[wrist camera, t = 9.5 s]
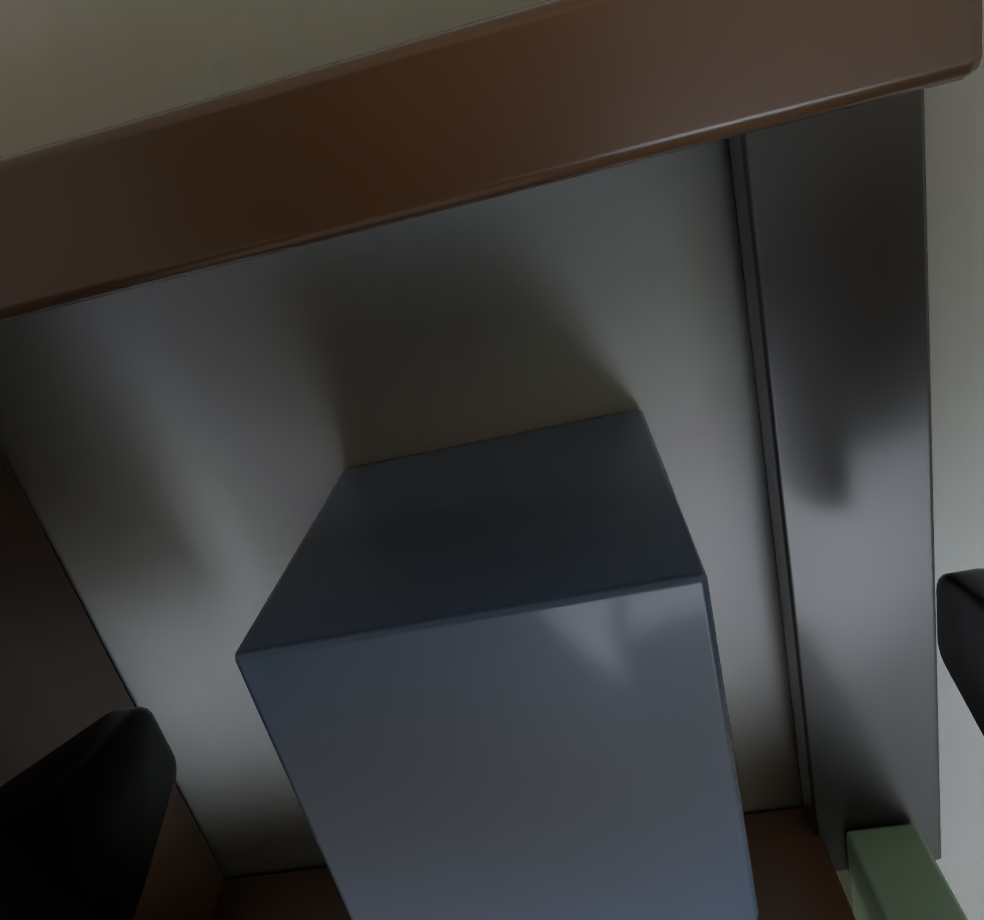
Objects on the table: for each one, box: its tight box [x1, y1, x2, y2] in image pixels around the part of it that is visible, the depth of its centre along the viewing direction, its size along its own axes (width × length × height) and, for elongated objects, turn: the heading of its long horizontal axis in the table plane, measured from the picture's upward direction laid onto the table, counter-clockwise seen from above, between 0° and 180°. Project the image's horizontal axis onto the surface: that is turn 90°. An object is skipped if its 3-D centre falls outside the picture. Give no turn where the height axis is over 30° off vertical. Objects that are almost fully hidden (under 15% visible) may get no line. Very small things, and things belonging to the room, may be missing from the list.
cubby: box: [0, 0, 982, 920], centre depth 8 cm, size 12×12×5 cm
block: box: [235, 410, 759, 920], centre depth 9 cm, size 4×4×4 cm
